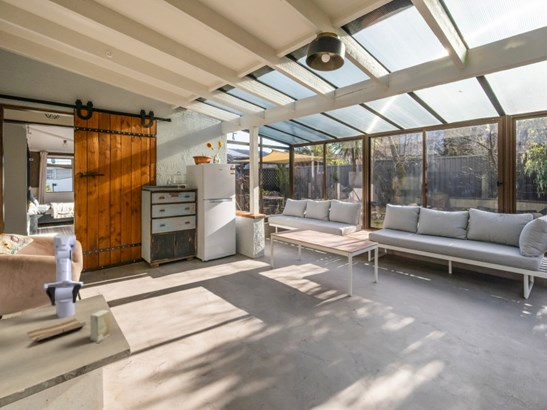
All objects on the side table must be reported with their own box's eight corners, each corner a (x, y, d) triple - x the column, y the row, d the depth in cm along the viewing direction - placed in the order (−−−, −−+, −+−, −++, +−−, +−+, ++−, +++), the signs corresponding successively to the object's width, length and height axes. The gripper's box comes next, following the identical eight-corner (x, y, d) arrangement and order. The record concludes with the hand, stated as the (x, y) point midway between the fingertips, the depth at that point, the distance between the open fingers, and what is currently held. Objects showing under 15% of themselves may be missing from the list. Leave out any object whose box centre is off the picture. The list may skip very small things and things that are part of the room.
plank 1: (35, 342, 122) (34, 339, 122) (59, 334, 129) (58, 332, 129) (38, 339, 118) (38, 336, 118) (63, 331, 125) (62, 329, 125)
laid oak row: (26, 334, 128) (26, 332, 128) (74, 320, 143) (74, 318, 142) (32, 342, 122) (31, 340, 122) (81, 326, 136) (81, 324, 136)
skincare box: (97, 344, 122) (97, 316, 121) (90, 342, 123) (89, 315, 123) (110, 336, 128) (110, 310, 127) (103, 335, 130) (102, 309, 129)
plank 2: (60, 334, 129) (59, 331, 129) (81, 327, 135) (81, 324, 136) (64, 331, 125) (63, 328, 125) (86, 324, 131) (85, 321, 132)
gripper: (46, 271, 124) (46, 301, 118) (84, 270, 135) (86, 298, 129) (42, 278, 128) (41, 308, 121) (79, 276, 138) (80, 304, 132)
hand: (64, 303), depth 125 cm, fingers open, 7 cm apart
